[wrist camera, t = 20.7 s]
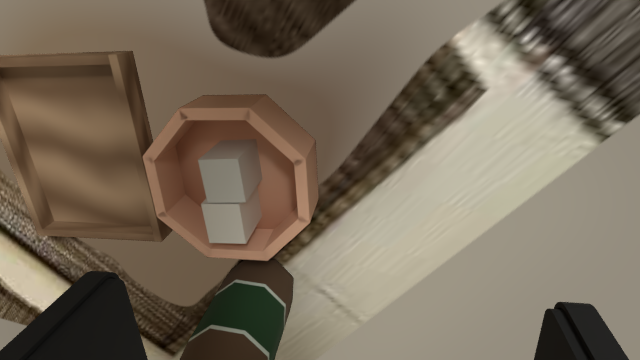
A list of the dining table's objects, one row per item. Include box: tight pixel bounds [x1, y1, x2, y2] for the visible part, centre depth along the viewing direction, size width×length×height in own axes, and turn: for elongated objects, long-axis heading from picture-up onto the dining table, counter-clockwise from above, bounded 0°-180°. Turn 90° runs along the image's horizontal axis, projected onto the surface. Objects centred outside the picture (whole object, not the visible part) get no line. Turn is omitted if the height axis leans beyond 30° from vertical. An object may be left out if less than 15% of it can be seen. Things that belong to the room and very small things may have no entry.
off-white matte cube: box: [198, 139, 262, 203], centre depth 36 cm, size 4×4×5 cm
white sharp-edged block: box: [201, 187, 262, 244], centre depth 38 cm, size 4×4×5 cm
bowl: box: [143, 95, 319, 261], centre depth 38 cm, size 15×15×5 cm
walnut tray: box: [0, 51, 173, 242], centre depth 41 cm, size 19×15×2 cm
